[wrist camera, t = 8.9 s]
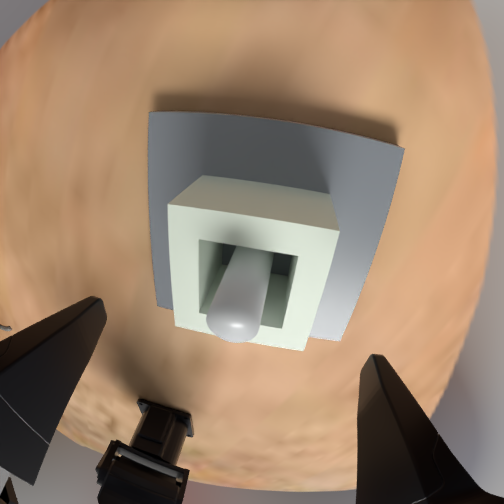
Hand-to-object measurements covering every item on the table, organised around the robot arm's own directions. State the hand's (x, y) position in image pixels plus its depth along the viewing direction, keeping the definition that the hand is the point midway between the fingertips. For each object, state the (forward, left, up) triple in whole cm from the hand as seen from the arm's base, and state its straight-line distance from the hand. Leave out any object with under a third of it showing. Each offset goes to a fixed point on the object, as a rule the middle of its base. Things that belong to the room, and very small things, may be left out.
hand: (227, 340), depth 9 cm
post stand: (0, 0, -8) cm, 8 cm away
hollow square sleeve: (0, 0, -7) cm, 7 cm away
